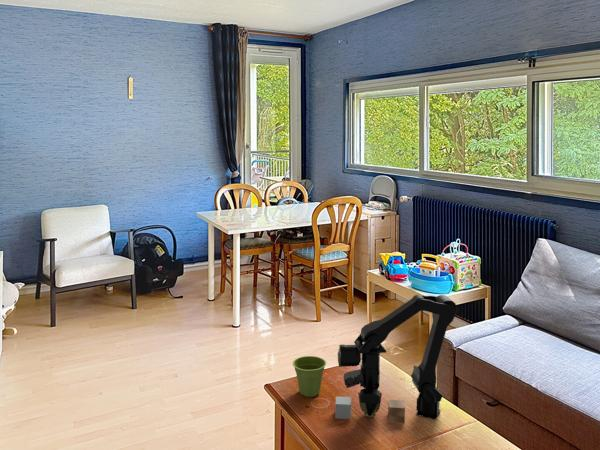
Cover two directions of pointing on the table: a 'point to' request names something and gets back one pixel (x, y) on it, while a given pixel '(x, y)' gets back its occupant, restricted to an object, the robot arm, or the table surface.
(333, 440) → the table surface
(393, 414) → the walnut block
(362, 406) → the ornate bronze bell
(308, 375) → the plant pot
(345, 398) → the slate grey block
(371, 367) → the robot arm
